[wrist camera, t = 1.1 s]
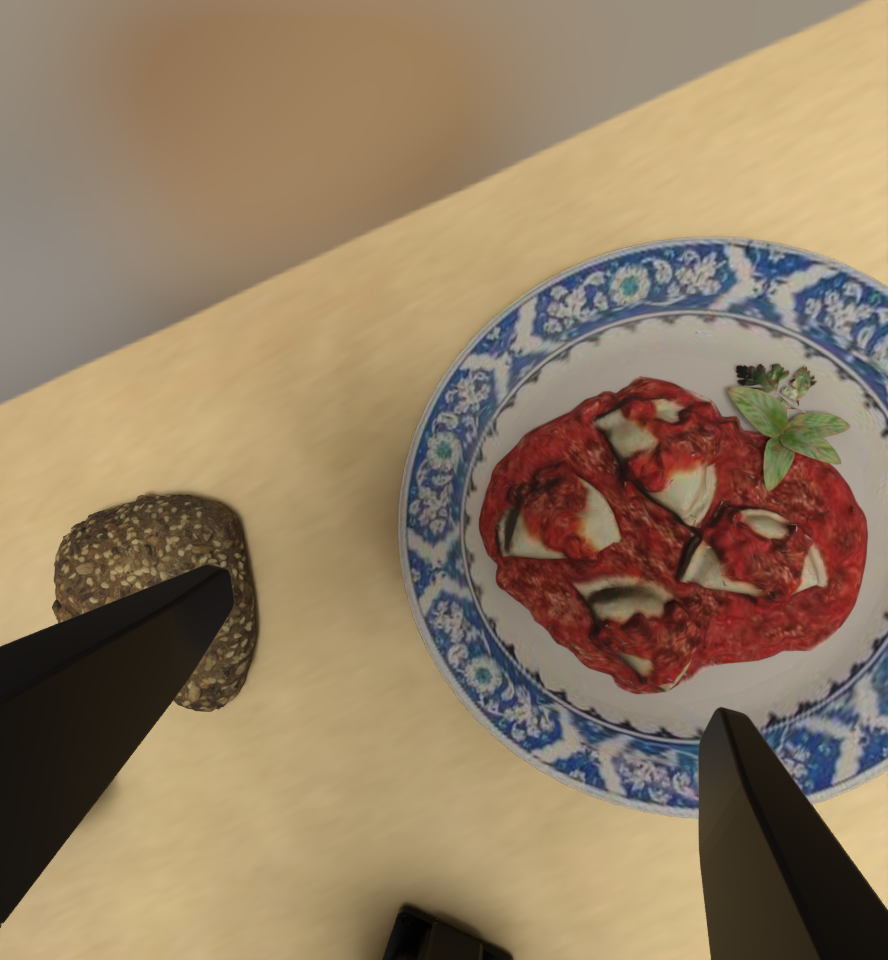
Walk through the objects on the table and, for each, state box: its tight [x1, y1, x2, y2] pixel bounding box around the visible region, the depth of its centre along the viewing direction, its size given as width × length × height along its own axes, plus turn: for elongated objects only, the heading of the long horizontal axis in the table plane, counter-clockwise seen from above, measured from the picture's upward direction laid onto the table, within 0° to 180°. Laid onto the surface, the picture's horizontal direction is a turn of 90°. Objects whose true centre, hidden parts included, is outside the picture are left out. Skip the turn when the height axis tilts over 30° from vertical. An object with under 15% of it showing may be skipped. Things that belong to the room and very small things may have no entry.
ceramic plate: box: [398, 237, 888, 819], centre depth 24 cm, size 26×26×3 cm
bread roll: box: [52, 495, 256, 712], centre depth 29 cm, size 13×12×5 cm
